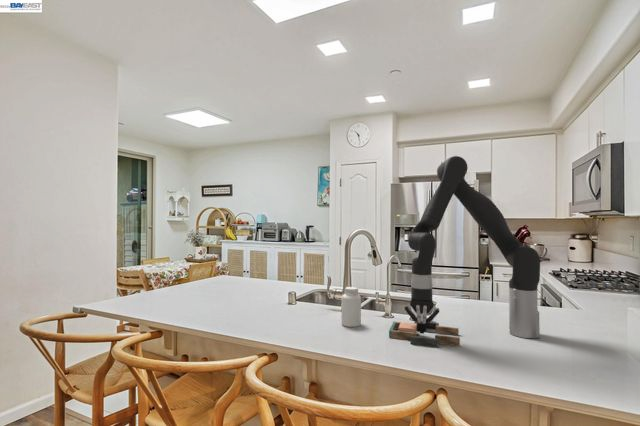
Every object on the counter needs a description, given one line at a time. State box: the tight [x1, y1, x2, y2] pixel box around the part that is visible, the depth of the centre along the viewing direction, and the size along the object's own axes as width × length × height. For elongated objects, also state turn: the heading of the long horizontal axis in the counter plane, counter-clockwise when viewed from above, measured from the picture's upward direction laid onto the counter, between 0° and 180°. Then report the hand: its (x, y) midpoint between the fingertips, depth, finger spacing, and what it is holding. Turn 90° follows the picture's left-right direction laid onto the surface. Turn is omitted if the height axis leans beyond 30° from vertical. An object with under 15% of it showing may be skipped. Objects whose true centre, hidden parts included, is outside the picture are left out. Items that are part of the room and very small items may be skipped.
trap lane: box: [388, 321, 461, 348], centre depth 127 cm, size 24×20×2 cm
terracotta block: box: [398, 321, 418, 337], centre depth 129 cm, size 6×7×4 cm
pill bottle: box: [341, 286, 362, 328], centre depth 142 cm, size 8×8×15 cm
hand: (421, 332), depth 128 cm, fingers closed
